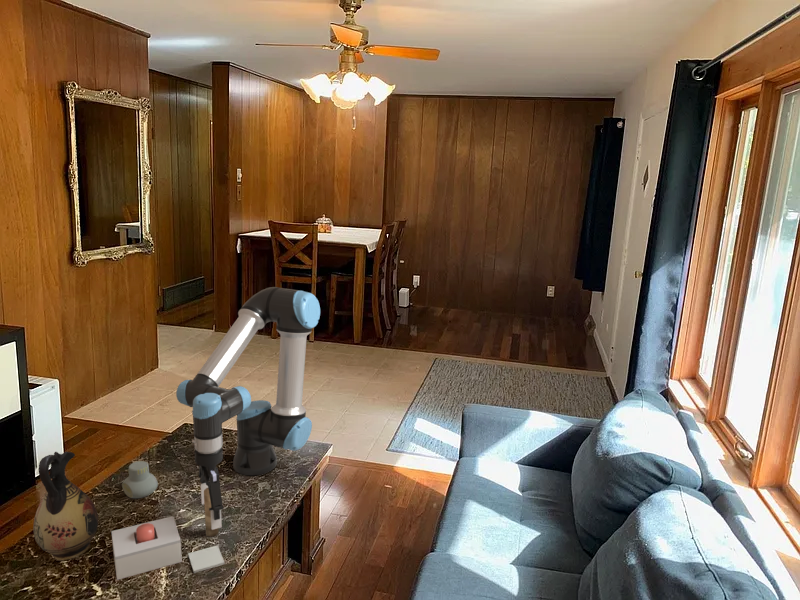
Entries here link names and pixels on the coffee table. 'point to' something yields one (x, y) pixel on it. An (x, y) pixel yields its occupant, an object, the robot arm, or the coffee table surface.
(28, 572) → the coffee table surface
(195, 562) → the pad
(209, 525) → the tan wooden rod
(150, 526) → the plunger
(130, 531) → the box
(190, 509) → the coffee table surface
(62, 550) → the ceramic jug
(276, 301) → the robot arm
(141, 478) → the air freshener
